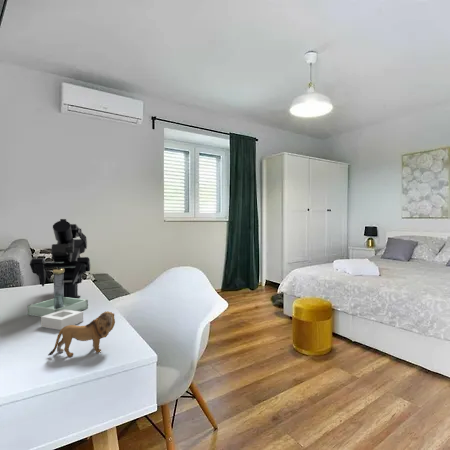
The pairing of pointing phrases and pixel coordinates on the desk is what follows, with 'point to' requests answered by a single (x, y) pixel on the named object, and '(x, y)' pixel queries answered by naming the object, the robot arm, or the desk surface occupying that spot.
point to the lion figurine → (85, 333)
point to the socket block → (61, 319)
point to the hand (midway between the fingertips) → (57, 284)
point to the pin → (58, 287)
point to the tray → (48, 308)
